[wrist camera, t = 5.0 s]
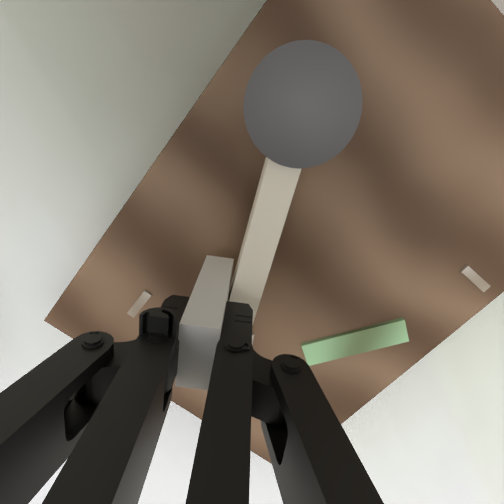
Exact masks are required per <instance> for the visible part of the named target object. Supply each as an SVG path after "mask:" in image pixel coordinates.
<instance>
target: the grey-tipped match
mask: <svg viewBox="0 0 504 504" xmlns="http://www.w3.org/2000/svg"><path fill="white" fill-rule="evenodd" d="M362 102H363V98H362V89H361V84H360V81H359V78H358V75H357V73H356V71H355V69H354V67H353V66H352V64H351V63H350V61H349V60H348V59H347V58H346V57H345V56H344V55H343V54H342V53H341V52H340V51H338V50H337V49H335V48H334V47H332V46H330V45H328V44H325V43H323V42H319V41H315V40H297V41H293V42H289V43H286V44H284V45H281V46H280V47H278V48H276V49H274V50H273V51H272V52H270V53H269V54H268V55H266V56H265V57H264V58H263V59H262V60H261V62H260V63H259V64H258V65H257V67H256V68H255V70H254V71H253V73H252V75H251V77H250V79H249V81H248V84H247V87H246V91H245V96H244V105H243V110H244V119H245V124H246V128H247V131H248V133H249V135H250V137H251V139H252V141H253V143H254V144H255V146H256V147H257V148H258V149H259V151H260V152H261V153H262V154H264V155H265V156H266V159H265V162H264V166H263V170H262V173H261V177H260V181H259V184H258V188H257V192H256V195H255V199H254V202H253V206H252V210H251V213H250V217H249V221H248V224H247V228H246V232H245V235H244V239H243V243H242V246H241V250H240V254H239V257H238V261H237V264H236V268H235V272H234V275H233V279H232V283H231V286H230V293H229V299H228V301H231V302H239V303H246V304H249V305H250V307H251V308H252V310H253V322H254V319H255V316H256V313H257V309H258V306H259V303H260V300H261V297H262V293H263V290H264V287H265V284H266V281H267V278H268V274H269V271H270V268H271V265H272V262H273V258H274V255H275V252H276V249H277V246H278V242H279V239H280V236H281V233H282V230H283V226H284V223H285V220H286V217H287V214H288V210H289V207H290V204H291V201H292V198H293V195H294V191H295V188H296V185H297V182H298V179H299V175H300V172H301V169H302V168H310V167H315V166H318V165H321V164H323V163H325V162H327V161H329V160H331V159H332V158H334V157H335V156H336V155H338V154H339V153H340V152H341V151H342V150H343V149H344V148H345V147H346V146H347V144H348V143H349V142H350V140H351V139H352V137H353V135H354V134H355V132H356V129H357V127H358V125H359V121H360V118H361V113H362ZM252 325H253V323H252Z"/></svg>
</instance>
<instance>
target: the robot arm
mask: <svg viewBox="0 0 504 504" xmlns="http://www.w3.org/2000/svg"><path fill="white" fill-rule="evenodd" d="M233 262H234V259H232V258H224V257H217V256H209V255H207V256H206V259H205V261H204V264H203V266H202V269H201V271H200V274H199V276H198V279H197V281H196V284H195V286H194V289H193V291H192V293H191V296H190V297H187V296H179V295H171V296H169V297H168V298H166V299H165V300H164V302H163V303H162V305H161V307H155V308H149V309H147V310H144V311H143V312H142V313H140V314H139V335H138V337H137V339H135V340H132V341H126V342H114V338H113V337H112V335H111V334H109V333H106V332H102V331H90V332H87V333H83V334H81V335H79V336H77V337H76V338H74V339H73V340H71V341H70V342H69V343H67V344H66V345H65V346H63V347H62V348H61V349H59V350H58V351H57V352H55V353H54V354H53V355H51V356H50V357H48V358H47V359H46V360H44V361H43V362H42V363H40V364H39V365H38V366H36V367H35V368H34V369H32V370H31V371H30V372H28V373H27V374H25V375H24V376H23V377H21V378H20V379H19V380H17V381H16V382H15V383H13V384H12V385H11V386H9V387H8V388H7V389H5V390H4V391H2V392H1V393H0V504H28V503H29V502H30V501H31V500H32V498H33V497H34V496H35V495H36V494H37V493H38V492H39V490H40V489H41V488H42V487H43V486H44V485H45V484H46V482H47V481H48V480H49V479H50V478H51V477H52V476H53V474H54V473H55V472H56V471H57V470H58V469H59V467H60V466H61V465H62V464H63V463H64V462H65V461H66V459H67V458H68V459H67V461H66V463H65V464H64V466H63V468H62V470H61V471H60V473H59V475H58V477H57V478H56V480H55V482H54V484H53V485H52V487H51V489H50V491H49V492H48V494H47V496H46V498H45V499H44V501H43V503H42V504H138V501H139V498H140V494H141V491H142V488H143V485H144V482H145V479H146V476H147V473H148V470H149V466H150V463H151V460H152V457H153V454H154V451H155V448H156V445H157V442H158V439H159V435H160V432H161V429H162V426H163V423H164V420H165V417H166V414H167V411H168V407H169V404H170V401H171V398H172V388H173V383H174V380H175V386H177V387H186V388H193V389H201V390H208V392H207V397H206V402H205V407H204V412H203V417H202V423H201V428H200V433H199V438H198V443H197V448H196V453H195V458H194V464H193V469H192V474H191V479H190V484H189V489H188V494H187V499H186V504H249V478H250V444H251V417H254V418H256V419H259V420H261V427H262V431H263V434H264V438H265V441H266V445H267V448H268V452H269V455H270V459H271V462H272V465H273V469H274V472H275V476H276V479H277V483H278V486H279V490H280V493H281V497H282V500H283V504H384V503H383V501H382V499H381V498H380V496H379V494H378V492H377V490H376V488H375V487H374V485H373V483H372V481H371V479H370V477H369V475H368V474H367V472H366V470H365V468H364V466H363V464H362V463H361V461H360V459H359V457H358V455H357V453H356V452H355V450H354V448H353V446H352V444H351V442H350V440H349V439H348V437H347V435H346V433H345V431H344V429H343V428H342V426H341V424H340V422H339V420H338V418H337V417H336V415H335V413H334V411H333V409H332V407H331V405H330V404H329V402H328V400H327V398H326V396H325V394H324V393H323V391H322V389H321V387H320V385H319V383H318V381H317V380H316V378H315V376H314V374H313V372H312V370H311V369H310V367H309V365H308V364H307V363H306V361H304V360H303V359H301V358H300V357H298V356H295V355H292V354H281V355H278V356H276V357H275V358H274V359H273V361H272V360H269V359H267V358H264V357H262V356H261V355H259V354H258V353H257V352H256V351H255V350H254V349H253V346H252V323H253V310H252V308H251V307H250V305H249V304H246V303H239V302H231V301H228V299H229V293H230V286H231V278H232V270H233ZM175 377H176V378H175Z"/></svg>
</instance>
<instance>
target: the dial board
mask: <svg viewBox="0 0 504 504" xmlns="http://www.w3.org/2000/svg"><path fill="white" fill-rule="evenodd" d="M297 40H315V41H319V42H323V43H325V44H328V45H330V46H332V47H334V48H335V49H337V50H338V51H340V52H341V53H342V54H343V55H344V56H345V57H346V58H347V59H348V60H349V61H350V63H351V64H352V66H353V67H354V69H355V71H356V73H357V75H358V78H359V81H360V84H361V89H362V98H363V102H362V113H361V118H360V121H359V125H358V127H357V129H356V132H355V134H354V135H353V137H352V139H351V140H350V142H349V143H348V144H347V146H346V147H345V148H344V149H343V150H342V151H341V152H340V153H339V154H338V155H336V156H335V157H334V158H332V159H331V160H329V161H327V162H325V163H323V164H321V165H318V166H315V167H310V168H302V169H301V172H300V175H299V179H298V182H297V185H296V188H295V191H294V195H293V198H292V201H291V204H290V207H289V210H288V214H287V217H286V220H285V223H284V226H283V230H282V233H281V236H280V239H279V242H278V246H277V249H276V252H275V255H274V258H273V262H272V265H271V268H270V271H269V274H268V278H267V281H266V284H265V287H264V290H263V293H262V297H261V300H260V303H259V306H258V309H257V313H256V316H255V319H254V322H253V325H252V346H253V349H254V350H255V351H256V352H257V353H258V354H259V355H261V356H262V357H264V358H267V359H269V360H272V361H273V359H274V358H275V357H276V356H278V355H281V354H292V355H295V356H298V357H300V358H301V359H303V360H304V361H306V363H307V364H308V365H309V367H310V369H311V370H312V372H313V374H314V376H315V378H316V380H317V381H318V383H319V385H320V387H321V389H322V391H323V393H324V394H325V396H326V398H327V400H328V402H329V404H330V405H331V407H332V409H333V411H334V413H335V415H336V417H337V418H338V420H339V422H340V424H342V423H343V422H344V421H345V420H347V419H348V418H349V417H350V416H351V415H353V414H354V413H355V412H356V411H358V410H359V409H360V408H361V407H363V406H364V405H365V404H366V403H367V402H369V401H370V400H371V399H372V398H374V397H375V396H376V395H377V394H378V393H380V392H381V391H382V390H383V389H385V388H386V387H387V386H388V385H390V384H391V383H392V382H393V381H394V380H396V379H397V378H398V377H399V376H401V375H402V374H403V373H404V372H405V371H407V370H408V369H409V368H410V367H412V366H413V365H414V364H415V363H417V362H418V361H419V360H420V359H421V358H423V357H424V356H425V355H426V354H428V353H429V352H430V351H431V350H432V349H434V348H435V347H436V346H437V345H439V344H440V343H441V342H442V341H444V340H445V339H446V338H447V337H448V336H450V335H451V334H452V333H453V332H455V331H456V330H457V329H458V328H459V327H461V326H462V325H463V324H464V323H466V322H467V321H468V320H469V319H470V318H472V317H473V316H474V315H475V314H477V313H478V312H479V311H480V310H482V309H483V308H484V307H485V306H486V305H488V304H489V303H490V302H491V301H493V300H494V299H495V298H496V297H497V296H499V295H500V294H501V293H502V292H504V15H503V14H502V13H501V12H500V11H499V9H498V8H497V7H496V6H495V5H494V4H493V2H492V1H491V0H267V1H266V2H265V4H264V5H263V7H262V8H261V9H260V11H259V12H258V14H257V15H256V17H255V18H254V20H253V21H252V22H251V24H250V25H249V27H248V28H247V30H246V31H245V32H244V34H243V35H242V37H241V38H240V40H239V41H238V43H237V44H236V45H235V47H234V48H233V50H232V51H231V53H230V54H229V55H228V57H227V58H226V60H225V61H224V63H223V64H222V66H221V67H220V68H219V70H218V71H217V73H216V74H215V76H214V77H213V78H212V80H211V81H210V83H209V84H208V86H207V87H206V88H205V90H204V91H203V93H202V94H201V96H200V97H199V99H198V100H197V101H196V103H195V104H194V106H193V107H192V109H191V110H190V111H189V113H188V114H187V116H186V117H185V119H184V120H183V122H182V123H181V124H180V126H179V127H178V129H177V130H176V132H175V133H174V134H173V136H172V137H171V139H170V140H169V142H168V143H167V145H166V146H165V147H164V149H163V150H162V152H161V153H160V155H159V156H158V157H157V159H156V160H155V162H154V163H153V165H152V166H151V167H150V169H149V170H148V172H147V173H146V175H145V176H144V178H143V179H142V180H141V182H140V183H139V185H138V186H137V188H136V189H135V190H134V192H133V193H132V195H131V196H130V198H129V199H128V201H127V202H126V203H125V205H124V206H123V208H122V209H121V211H120V212H119V213H118V215H117V216H116V218H115V219H114V221H113V222H112V224H111V225H110V226H109V228H108V229H107V231H106V232H105V234H104V235H103V236H102V238H101V239H100V241H99V242H98V244H97V245H96V246H95V248H94V249H93V251H92V252H91V254H90V255H89V257H88V258H87V259H86V261H85V262H84V264H83V265H82V267H81V268H80V269H79V271H78V272H77V274H76V275H75V277H74V278H73V280H72V281H71V282H70V284H69V285H68V287H67V288H66V290H65V291H64V292H63V294H62V295H61V297H60V298H59V300H58V301H57V303H56V304H55V305H54V307H53V308H52V310H51V311H50V313H49V314H48V315H47V317H46V318H45V320H44V321H46V322H47V323H49V324H51V325H52V326H54V327H55V328H57V329H59V330H60V331H62V332H63V333H65V334H67V335H68V336H70V337H71V338H73V339H74V338H76V337H77V336H79V335H81V334H83V333H87V332H90V331H102V332H106V333H109V334H111V335H112V337H113V338H114V342H126V341H132V340H135V339H137V337H138V335H139V314H140V313H142V312H143V311H144V310H147V309H149V308H155V307H161V305H162V303H163V302H164V300H165V299H166V298H168V297H169V296H171V295H179V296H187V297H190V296H191V293H192V291H193V289H194V286H195V284H196V281H197V279H198V276H199V274H200V271H201V269H202V266H203V264H204V261H205V259H206V256H207V255H209V256H217V257H224V258H232V259H234V262H233V270H232V278H231V283H232V279H233V275H234V272H235V268H236V264H237V261H238V257H239V254H240V250H241V246H242V243H243V239H244V235H245V232H246V228H247V224H248V221H249V217H250V213H251V210H252V206H253V202H254V199H255V195H256V192H257V188H258V184H259V181H260V177H261V173H262V170H263V166H264V162H265V159H266V156H265V155H264V154H262V153H261V152H260V151H259V149H258V148H257V147H256V146H255V144H254V143H253V141H252V139H251V137H250V135H249V133H248V131H247V128H246V124H245V119H244V110H243V105H244V96H245V91H246V87H247V84H248V81H249V79H250V77H251V75H252V73H253V71H254V70H255V68H256V67H257V65H258V64H259V63H260V62H261V60H262V59H263V58H264V57H265V56H266V55H268V54H269V53H270V52H272V51H273V50H274V49H276V48H278V47H280V46H281V45H284V44H286V43H289V42H293V41H297ZM175 378H176V377H175ZM207 392H208V390H201V389H193V388H186V387H177V386H175V380H174V383H173V388H172V398H171V401H173V402H174V403H176V404H178V405H179V406H181V407H182V408H184V409H186V410H187V411H189V412H190V413H192V414H194V415H195V416H197V417H198V418H200V419H201V420H202V417H203V412H204V407H205V402H206V397H207ZM250 450H251V451H252V452H254V453H255V454H257V455H259V456H260V457H262V458H263V459H265V460H267V461H268V462H270V463H271V464H272V462H271V459H270V455H269V452H268V448H267V445H266V441H265V438H264V434H263V431H262V427H261V420H259V419H256V418H254V417H251V444H250Z"/></svg>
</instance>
